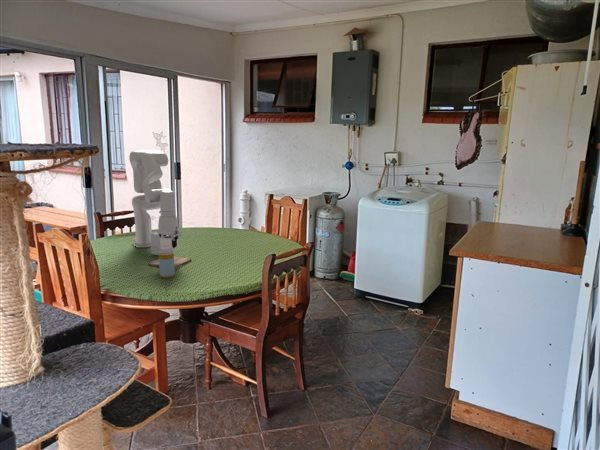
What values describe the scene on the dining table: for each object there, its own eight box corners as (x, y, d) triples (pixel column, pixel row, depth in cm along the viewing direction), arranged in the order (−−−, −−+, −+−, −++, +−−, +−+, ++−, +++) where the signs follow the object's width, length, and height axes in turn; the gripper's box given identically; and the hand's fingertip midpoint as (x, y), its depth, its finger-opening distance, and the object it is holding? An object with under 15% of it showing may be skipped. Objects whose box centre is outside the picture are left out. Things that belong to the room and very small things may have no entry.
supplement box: (169, 252, 248) (168, 231, 245) (161, 255, 241) (160, 234, 238) (159, 251, 250) (158, 230, 247) (151, 254, 243) (149, 233, 241)
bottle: (161, 274, 210) (160, 245, 207) (176, 273, 211) (174, 245, 208) (158, 278, 204) (156, 249, 200) (173, 278, 204) (171, 249, 201)
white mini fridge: (160, 248, 224) (160, 236, 222) (169, 245, 230) (168, 234, 229) (169, 249, 222) (169, 238, 220) (178, 246, 228) (177, 235, 227)
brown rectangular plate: (148, 265, 223) (147, 256, 222) (167, 257, 238) (167, 248, 237) (173, 269, 218) (172, 259, 217) (191, 261, 233) (191, 252, 231)
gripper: (150, 213, 222) (151, 246, 225) (177, 216, 216) (178, 250, 220) (159, 211, 228) (161, 243, 232) (185, 213, 223) (187, 246, 226)
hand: (169, 246), depth 226 cm, fingers closed on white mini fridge, 5 cm apart
